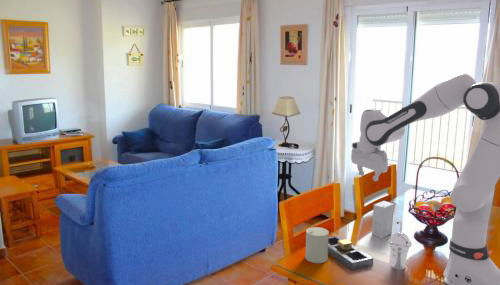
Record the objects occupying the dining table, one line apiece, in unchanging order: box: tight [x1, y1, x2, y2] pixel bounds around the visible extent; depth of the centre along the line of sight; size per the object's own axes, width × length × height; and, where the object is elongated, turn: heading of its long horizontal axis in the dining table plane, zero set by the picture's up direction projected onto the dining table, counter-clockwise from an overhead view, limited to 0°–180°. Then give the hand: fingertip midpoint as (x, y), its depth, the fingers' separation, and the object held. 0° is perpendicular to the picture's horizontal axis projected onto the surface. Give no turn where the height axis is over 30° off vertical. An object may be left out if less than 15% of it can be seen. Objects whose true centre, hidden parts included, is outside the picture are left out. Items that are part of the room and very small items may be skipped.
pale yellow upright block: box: [338, 238, 353, 253], centre depth 178 cm, size 4×4×6 cm
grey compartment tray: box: [328, 235, 374, 271], centre depth 178 cm, size 24×10×3 cm, turn 24°
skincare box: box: [371, 200, 395, 239], centre depth 198 cm, size 8×6×15 cm
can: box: [304, 226, 330, 264], centre depth 175 cm, size 9×9×12 cm
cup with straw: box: [388, 220, 413, 270], centre depth 166 cm, size 8×9×20 cm
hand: (368, 177), depth 187 cm, fingers open, 8 cm apart
